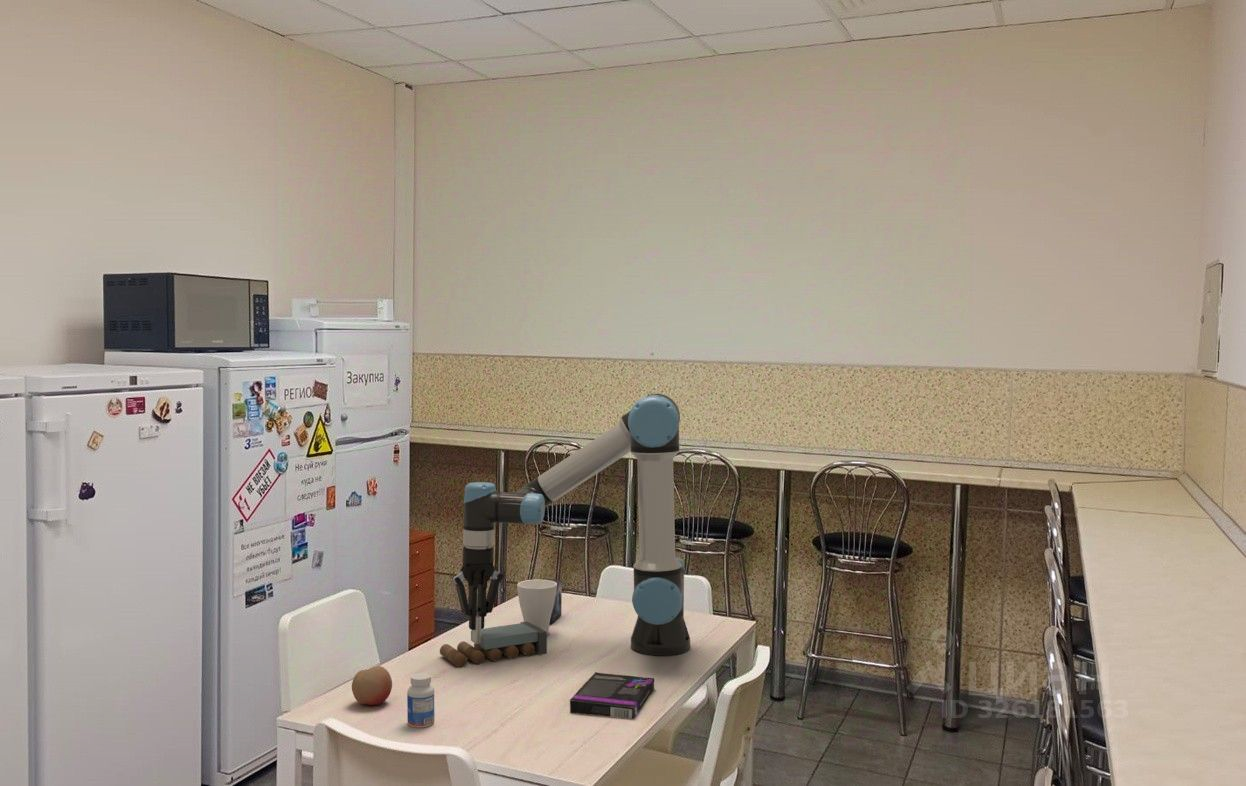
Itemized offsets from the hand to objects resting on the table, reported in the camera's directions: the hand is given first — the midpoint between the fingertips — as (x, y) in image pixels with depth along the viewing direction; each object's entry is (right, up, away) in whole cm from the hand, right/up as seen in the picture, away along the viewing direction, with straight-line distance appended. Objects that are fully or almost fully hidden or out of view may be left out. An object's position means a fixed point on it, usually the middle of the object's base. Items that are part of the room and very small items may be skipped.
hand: (476, 642), depth 252 cm
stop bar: (+13, -4, +8) cm, 16 cm away
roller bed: (+3, -4, +2) cm, 5 cm away
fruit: (-18, -6, -32) cm, 37 cm away
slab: (+6, -1, +4) cm, 8 cm away
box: (+34, -6, -29) cm, 45 cm away
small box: (+15, -3, +36) cm, 39 cm away
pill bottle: (-5, -6, -44) cm, 44 cm away
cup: (+13, -3, +21) cm, 25 cm away
